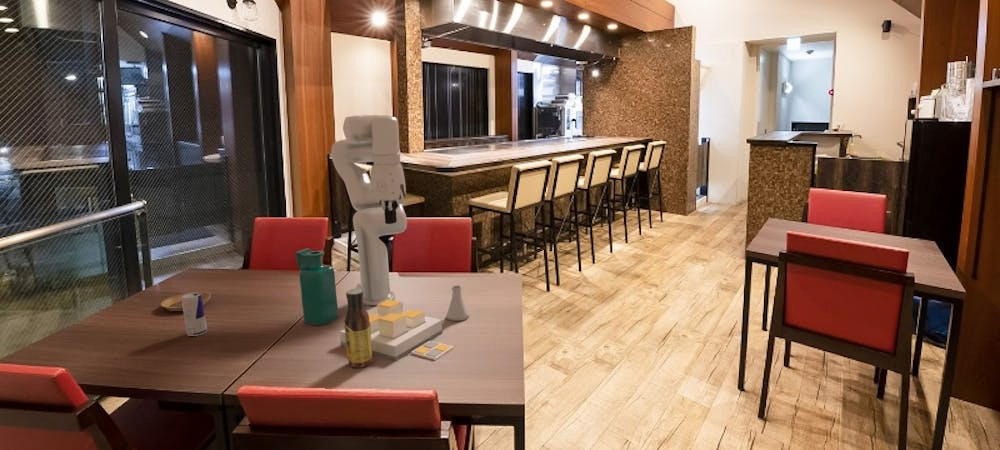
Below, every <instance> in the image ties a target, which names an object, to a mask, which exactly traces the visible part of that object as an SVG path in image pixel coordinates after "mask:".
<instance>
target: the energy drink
mask: <svg viewBox="0 0 1000 450" xmlns="http://www.w3.org/2000/svg"><path fill="white" fill-rule="evenodd" d="M198 292H199V291H195V292H194V293H193V292H187V293H188V294H185V293H184V294H185V295H183V296H182V299H181V300H182V307H183V313H182V314H183V318H184V326H185V332H186V333H185V334H186V335H188V336H187V337H189V336H197V337H199V336H198V335H201V334H204V333H205V334H207V332H208V327H207V320H206V314H205V313H206V312H205V307H204V306H205V305H203V298H202V295H201V293H198ZM205 334H204V335H205ZM201 336H202V335H201Z"/></svg>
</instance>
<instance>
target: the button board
mask: <svg viewBox="0 0 1000 450" xmlns="http://www.w3.org/2000/svg"><path fill="white" fill-rule="evenodd" d="M404 312H405V311H404V310H403V313H404ZM375 315H378V313H375ZM442 321H443V320H442V319H439V318H436V317H435V318H434V317H430V316H426V315H425V323H423V324H422V325H420V326H418V327H416V328H414V329H411V328H407V327H406V329H407V333H405V334H403V335H402V336H400V337H398V338H396V339H394V340H393V339H389V338H386V337H382V336H379V330H378V331H376V332H374V333H372V334H371V343H372V355H375V356H378V357H383V358H386V359H389V360H392V361H398V360H399V359H401V358H403V357H405V356H406V355H408V354H409V353H411V352H412V351H413V350H415V349H417V348H418V347H420V346H422V345H423V344H425V343H427V342H428V341H432V340H433V339H434V338H436V337H438V336H439V335H442V333H443V323H442ZM339 334H340V335H339V336H340V345H341V346H343V345H344V347H346V337H345V328H344V329H342V330H340V331H339Z"/></svg>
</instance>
